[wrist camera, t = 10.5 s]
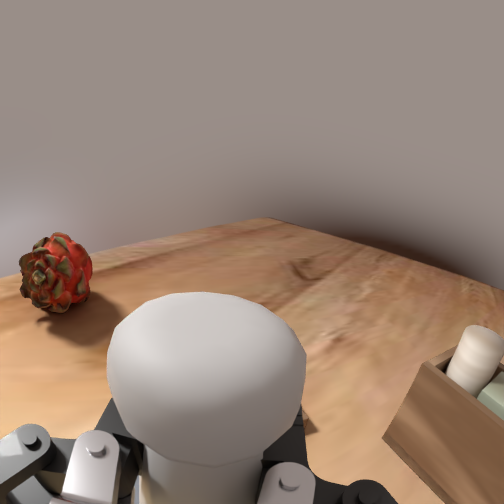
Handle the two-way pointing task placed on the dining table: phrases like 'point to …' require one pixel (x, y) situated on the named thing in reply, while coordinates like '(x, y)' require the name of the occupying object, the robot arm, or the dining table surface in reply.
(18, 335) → the dining table surface
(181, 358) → the salt shaker
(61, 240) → the dragon fruit
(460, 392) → the caddy
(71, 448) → the robot arm
